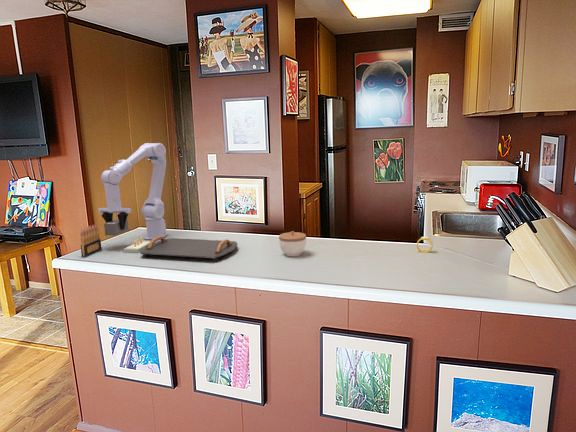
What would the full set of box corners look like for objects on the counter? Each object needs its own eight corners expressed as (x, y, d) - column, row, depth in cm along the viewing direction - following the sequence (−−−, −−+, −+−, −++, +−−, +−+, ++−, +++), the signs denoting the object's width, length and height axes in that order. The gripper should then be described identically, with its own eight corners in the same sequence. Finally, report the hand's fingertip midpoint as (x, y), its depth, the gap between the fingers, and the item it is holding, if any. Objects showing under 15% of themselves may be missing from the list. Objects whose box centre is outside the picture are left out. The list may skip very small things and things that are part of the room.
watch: (416, 253, 178) (415, 238, 177) (417, 251, 181) (416, 236, 180) (432, 253, 176) (432, 238, 175) (432, 251, 179) (432, 236, 178)
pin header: (139, 244, 204) (138, 234, 203) (153, 244, 202) (152, 234, 201) (123, 252, 191) (122, 242, 190) (138, 253, 190) (137, 242, 189)
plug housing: (118, 229, 202) (117, 218, 201) (128, 229, 201) (127, 218, 200) (105, 235, 193) (103, 223, 192) (115, 235, 192) (114, 223, 191)
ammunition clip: (85, 257, 186) (81, 229, 184) (81, 257, 187) (77, 228, 184) (102, 250, 196) (98, 223, 194) (98, 249, 197) (94, 222, 194)
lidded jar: (291, 260, 174) (290, 236, 172) (274, 254, 182) (273, 231, 180) (312, 254, 180) (311, 231, 178) (294, 248, 188) (294, 226, 186)
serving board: (133, 259, 183) (132, 244, 182) (164, 243, 205) (163, 230, 204) (221, 265, 172) (220, 249, 171) (244, 247, 194) (243, 233, 192)
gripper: (92, 200, 192) (96, 231, 194) (123, 200, 189) (127, 231, 192) (102, 197, 198) (105, 227, 201) (132, 197, 195) (135, 227, 198)
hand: (116, 229), depth 197 cm, fingers closed on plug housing, 5 cm apart
